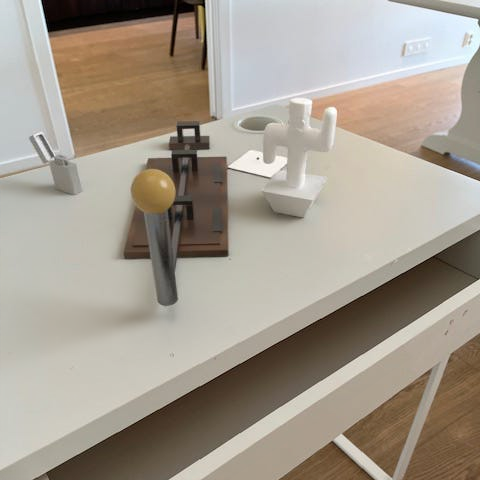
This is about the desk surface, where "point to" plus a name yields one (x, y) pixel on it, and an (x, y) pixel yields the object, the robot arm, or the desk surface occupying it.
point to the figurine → (296, 157)
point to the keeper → (189, 137)
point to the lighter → (57, 165)
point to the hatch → (190, 207)
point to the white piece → (258, 164)
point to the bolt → (161, 225)
